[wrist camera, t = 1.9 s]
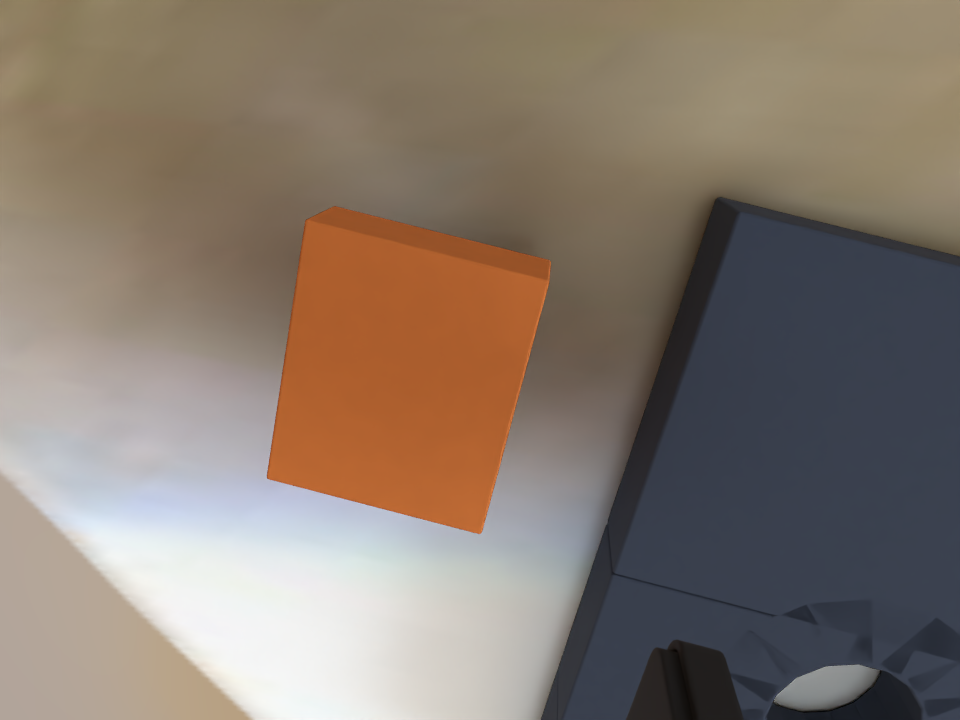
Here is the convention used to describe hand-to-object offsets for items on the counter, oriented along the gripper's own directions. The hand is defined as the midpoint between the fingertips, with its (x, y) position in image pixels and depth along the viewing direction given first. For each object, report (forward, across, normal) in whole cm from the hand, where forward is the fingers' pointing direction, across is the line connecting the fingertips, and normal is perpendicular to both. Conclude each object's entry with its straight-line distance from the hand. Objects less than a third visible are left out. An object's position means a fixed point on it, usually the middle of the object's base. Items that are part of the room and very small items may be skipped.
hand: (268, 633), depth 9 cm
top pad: (+12, 0, -1) cm, 12 cm away
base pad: (+12, -13, +3) cm, 18 cm away
